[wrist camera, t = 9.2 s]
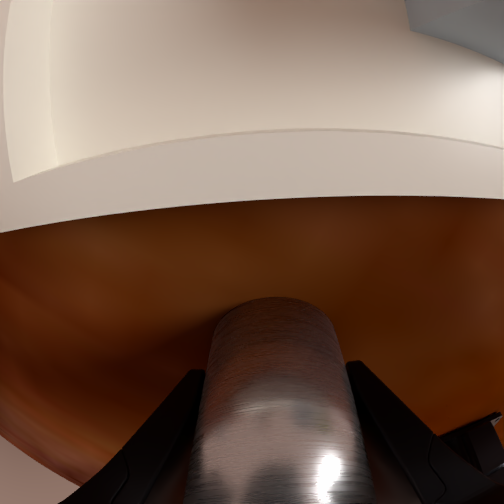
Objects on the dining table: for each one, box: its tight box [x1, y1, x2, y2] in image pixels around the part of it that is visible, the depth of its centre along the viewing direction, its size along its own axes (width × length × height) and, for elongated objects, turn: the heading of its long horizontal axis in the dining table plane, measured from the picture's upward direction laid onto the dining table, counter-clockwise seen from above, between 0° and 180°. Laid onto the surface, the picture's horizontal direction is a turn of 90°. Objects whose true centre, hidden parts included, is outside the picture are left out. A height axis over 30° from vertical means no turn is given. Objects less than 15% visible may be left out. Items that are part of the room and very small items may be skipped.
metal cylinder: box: [183, 297, 377, 504], centre depth 6 cm, size 4×4×6 cm
